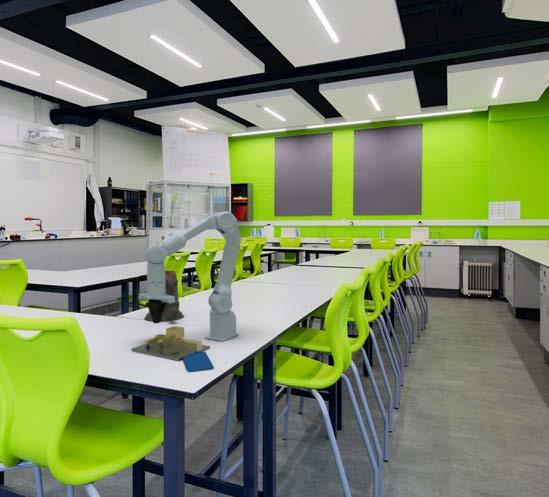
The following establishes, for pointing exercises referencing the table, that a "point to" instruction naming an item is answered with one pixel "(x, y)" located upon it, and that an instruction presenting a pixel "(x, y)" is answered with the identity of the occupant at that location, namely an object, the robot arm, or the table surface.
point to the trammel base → (170, 348)
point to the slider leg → (172, 334)
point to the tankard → (171, 309)
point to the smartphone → (197, 362)
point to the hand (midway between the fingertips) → (156, 322)
